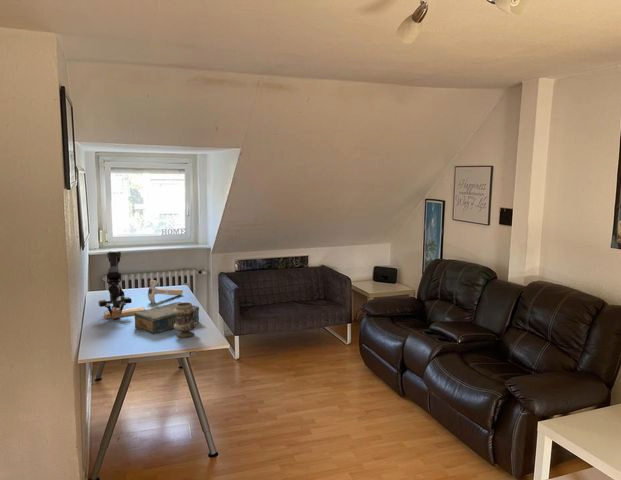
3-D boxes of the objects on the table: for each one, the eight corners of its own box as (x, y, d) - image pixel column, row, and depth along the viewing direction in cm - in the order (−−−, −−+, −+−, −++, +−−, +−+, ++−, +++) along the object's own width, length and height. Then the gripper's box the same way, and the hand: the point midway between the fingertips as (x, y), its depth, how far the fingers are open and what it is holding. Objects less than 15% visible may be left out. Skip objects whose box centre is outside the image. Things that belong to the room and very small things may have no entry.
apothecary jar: (186, 330, 281) (185, 300, 279) (200, 334, 274) (199, 303, 272) (169, 336, 271) (168, 304, 269) (184, 340, 264) (182, 307, 262)
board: (104, 316, 312) (104, 312, 311) (143, 310, 324) (142, 306, 324) (106, 318, 306) (105, 314, 306) (145, 313, 318) (145, 309, 318)
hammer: (179, 281, 369) (149, 279, 343) (184, 282, 367) (153, 280, 341) (177, 302, 368) (145, 302, 342) (181, 303, 366) (150, 303, 340)
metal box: (200, 322, 298) (200, 306, 297) (154, 335, 273) (153, 318, 272) (179, 316, 311) (179, 301, 310) (133, 328, 286) (132, 312, 285)
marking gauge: (109, 315, 311) (109, 306, 310) (118, 313, 313) (117, 305, 312) (112, 318, 303) (111, 309, 302) (120, 317, 305) (120, 308, 304)
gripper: (100, 295, 292) (101, 320, 294) (132, 291, 302) (134, 316, 304) (97, 291, 302) (99, 316, 304) (129, 288, 311) (130, 311, 313)
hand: (115, 315), depth 306 cm, fingers closed on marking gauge, 5 cm apart
